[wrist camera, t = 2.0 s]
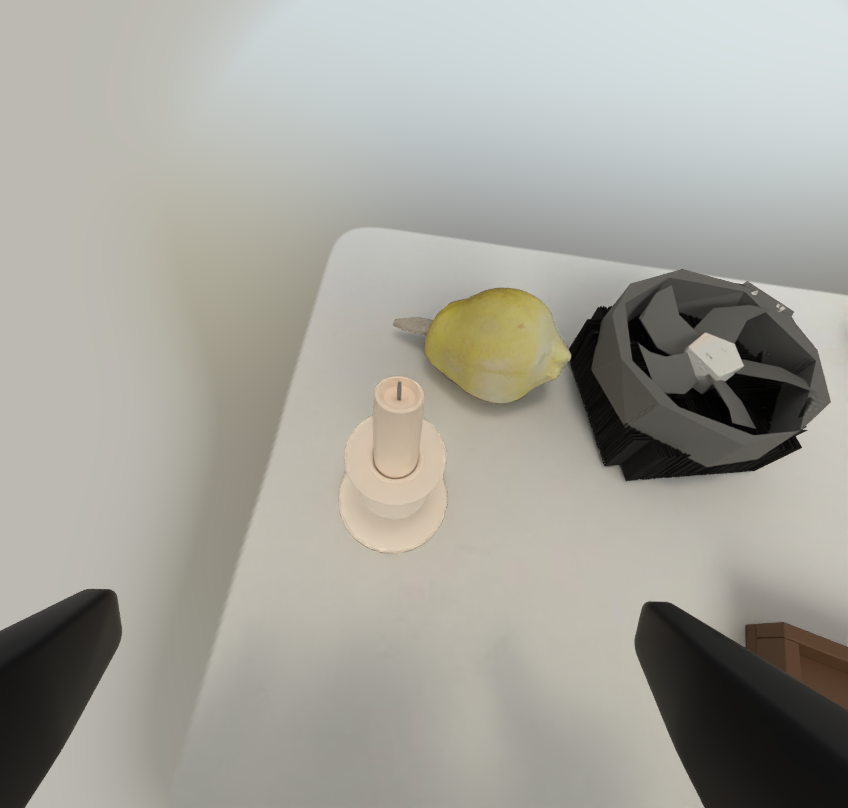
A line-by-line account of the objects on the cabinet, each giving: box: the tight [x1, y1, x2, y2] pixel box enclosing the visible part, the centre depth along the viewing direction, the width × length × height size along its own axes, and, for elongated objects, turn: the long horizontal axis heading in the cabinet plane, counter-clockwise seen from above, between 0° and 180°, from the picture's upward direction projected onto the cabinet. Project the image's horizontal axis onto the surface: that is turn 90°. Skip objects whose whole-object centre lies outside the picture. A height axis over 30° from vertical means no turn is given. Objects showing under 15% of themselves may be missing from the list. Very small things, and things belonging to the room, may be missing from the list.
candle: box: [338, 376, 447, 553], centre depth 16 cm, size 5×5×10 cm
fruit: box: [393, 288, 571, 403], centre depth 23 cm, size 6×6×10 cm
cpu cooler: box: [569, 269, 831, 481], centre depth 22 cm, size 10×6×10 cm
